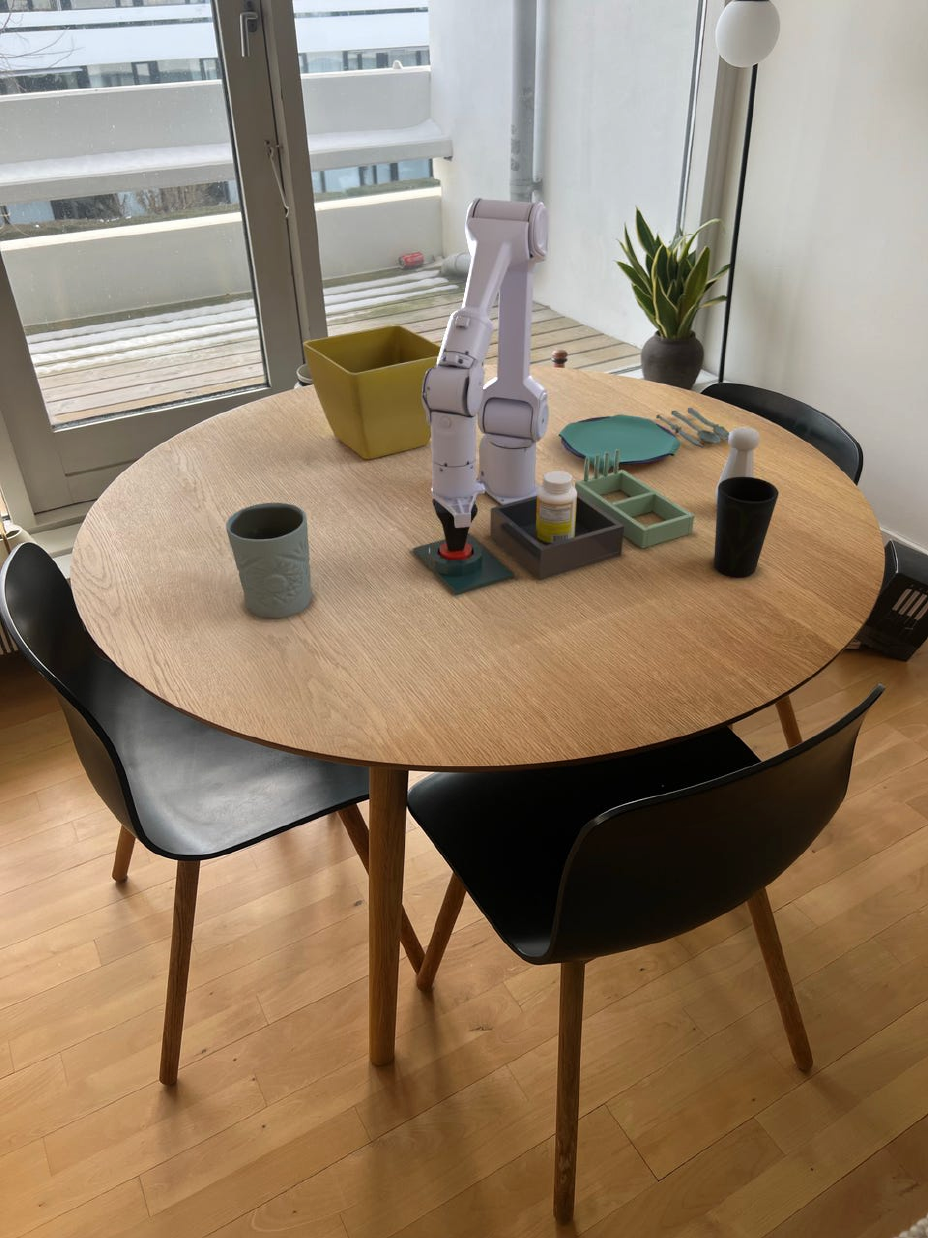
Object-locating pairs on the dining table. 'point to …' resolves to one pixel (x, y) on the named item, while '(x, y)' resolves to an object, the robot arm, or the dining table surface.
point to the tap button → (455, 553)
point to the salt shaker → (740, 454)
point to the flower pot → (373, 387)
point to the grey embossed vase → (272, 558)
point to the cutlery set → (632, 438)
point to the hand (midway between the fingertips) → (455, 548)
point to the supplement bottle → (556, 508)
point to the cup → (742, 524)
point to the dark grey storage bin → (589, 546)
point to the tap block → (464, 567)
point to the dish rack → (634, 504)
